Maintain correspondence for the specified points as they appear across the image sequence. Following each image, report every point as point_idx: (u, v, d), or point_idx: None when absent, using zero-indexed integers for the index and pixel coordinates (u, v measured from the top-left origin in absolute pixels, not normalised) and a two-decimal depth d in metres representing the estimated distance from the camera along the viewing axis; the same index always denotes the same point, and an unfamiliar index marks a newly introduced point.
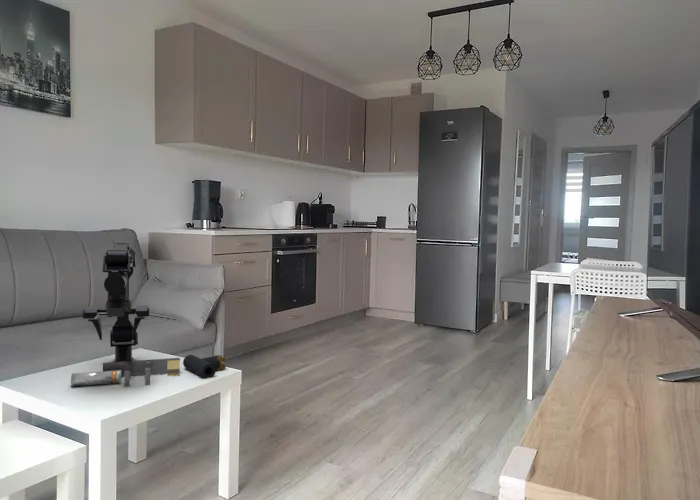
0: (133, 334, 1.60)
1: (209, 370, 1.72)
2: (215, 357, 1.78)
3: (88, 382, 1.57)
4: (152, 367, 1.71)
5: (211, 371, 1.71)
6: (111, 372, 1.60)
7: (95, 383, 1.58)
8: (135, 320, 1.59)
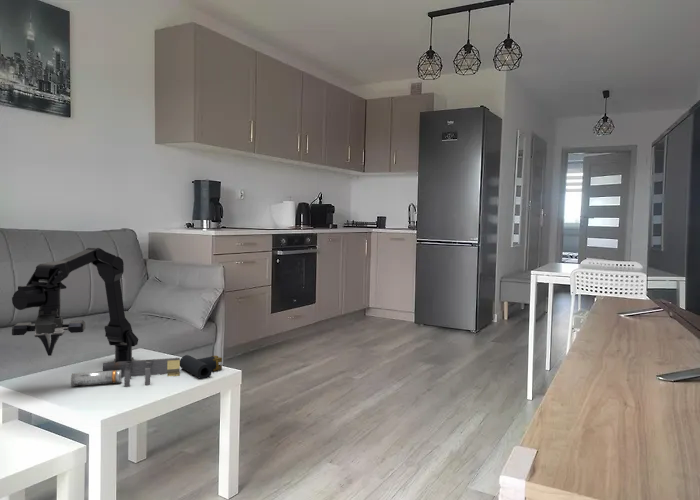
0: (50, 351, 1.54)
1: (205, 371, 1.71)
2: (211, 358, 1.77)
3: (88, 382, 1.57)
4: (152, 367, 1.71)
5: (207, 372, 1.70)
6: (111, 372, 1.60)
7: (95, 383, 1.58)
8: (52, 337, 1.53)
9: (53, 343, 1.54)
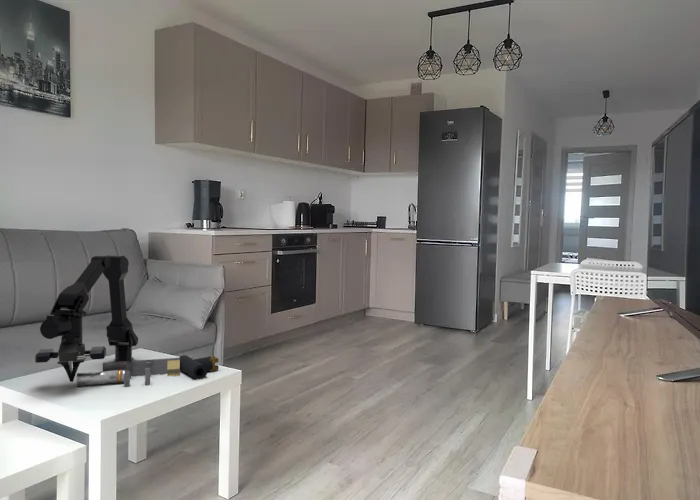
0: (72, 377, 1.57)
1: (201, 371, 1.71)
2: (208, 358, 1.77)
3: (94, 382, 1.58)
4: (152, 367, 1.71)
5: (202, 372, 1.70)
6: (116, 371, 1.61)
7: (101, 382, 1.59)
8: (73, 364, 1.55)
9: (75, 369, 1.56)
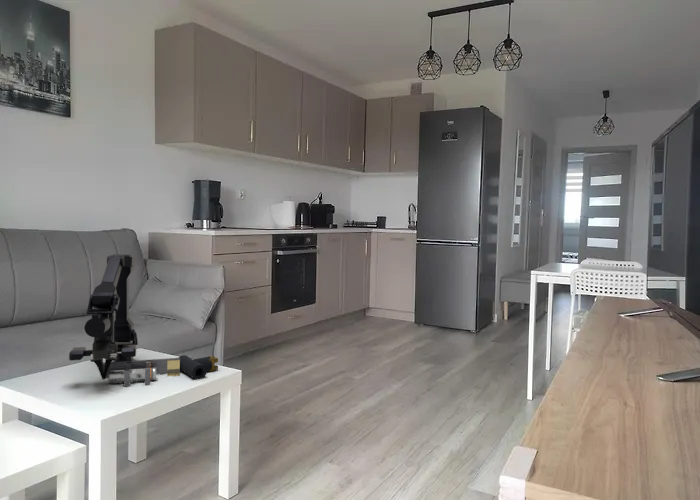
0: (104, 375, 1.60)
1: (200, 371, 1.71)
2: (207, 358, 1.77)
3: None
4: (152, 367, 1.71)
5: (202, 372, 1.70)
6: None
7: (132, 380, 1.62)
8: (106, 361, 1.58)
9: (107, 367, 1.59)
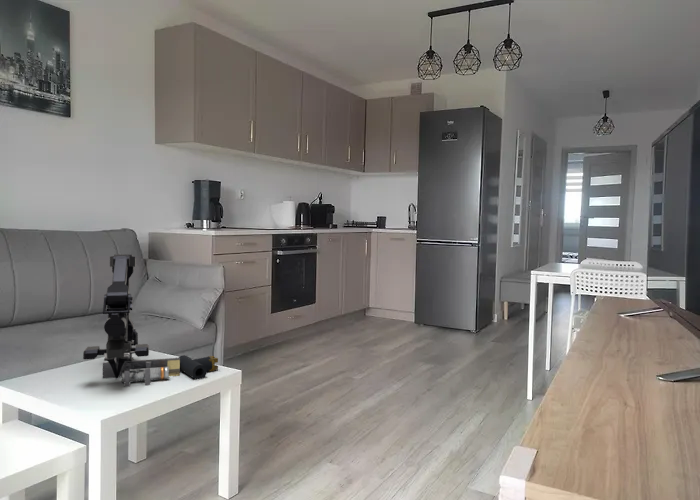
0: (117, 374, 1.61)
1: (200, 371, 1.71)
2: (207, 358, 1.77)
3: (138, 379, 1.62)
4: (152, 367, 1.71)
5: (202, 372, 1.70)
6: (159, 368, 1.65)
7: (144, 379, 1.63)
8: (119, 360, 1.60)
9: (120, 366, 1.61)
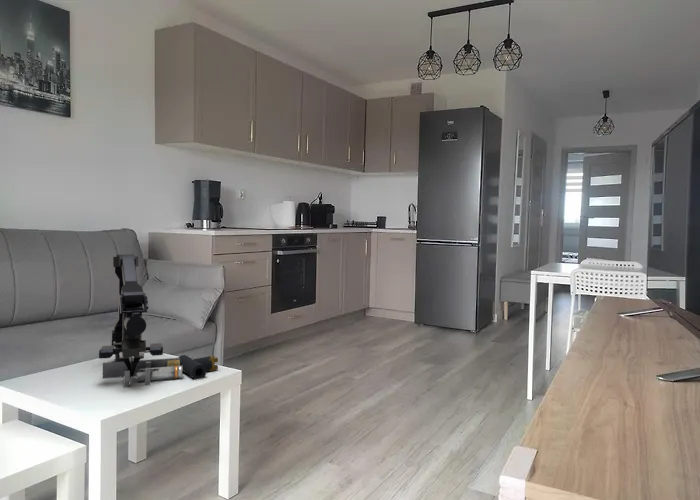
0: (132, 373, 1.63)
1: (200, 371, 1.71)
2: (207, 358, 1.77)
3: (153, 377, 1.64)
4: (152, 367, 1.71)
5: (202, 372, 1.70)
6: (173, 367, 1.67)
7: (159, 378, 1.65)
8: (134, 360, 1.61)
9: (135, 365, 1.62)
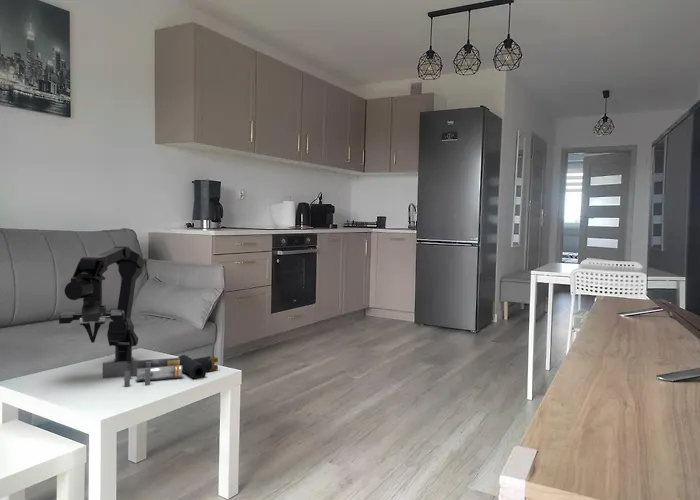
0: (93, 338, 1.66)
1: (200, 371, 1.71)
2: (207, 358, 1.77)
3: (153, 376, 1.64)
4: None
5: (202, 372, 1.70)
6: (173, 366, 1.68)
7: (159, 377, 1.65)
8: (95, 325, 1.64)
9: (96, 331, 1.65)
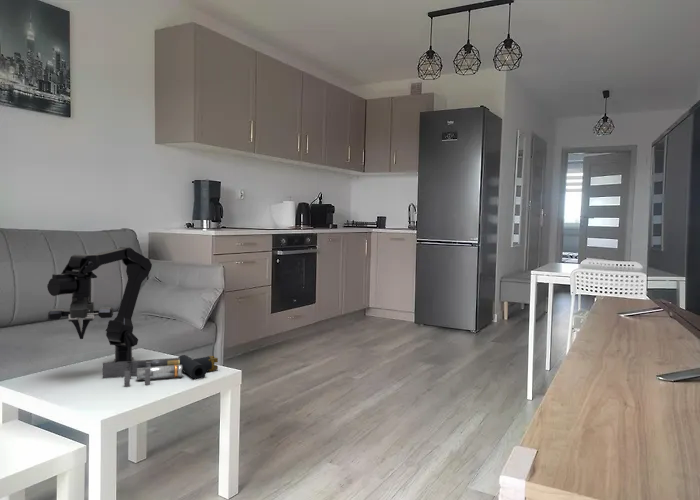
0: (82, 335, 1.69)
1: (200, 371, 1.71)
2: (207, 358, 1.77)
3: (153, 373, 1.65)
4: None
5: (201, 372, 1.70)
6: (173, 365, 1.69)
7: (159, 374, 1.66)
8: (83, 321, 1.67)
9: (85, 327, 1.68)
